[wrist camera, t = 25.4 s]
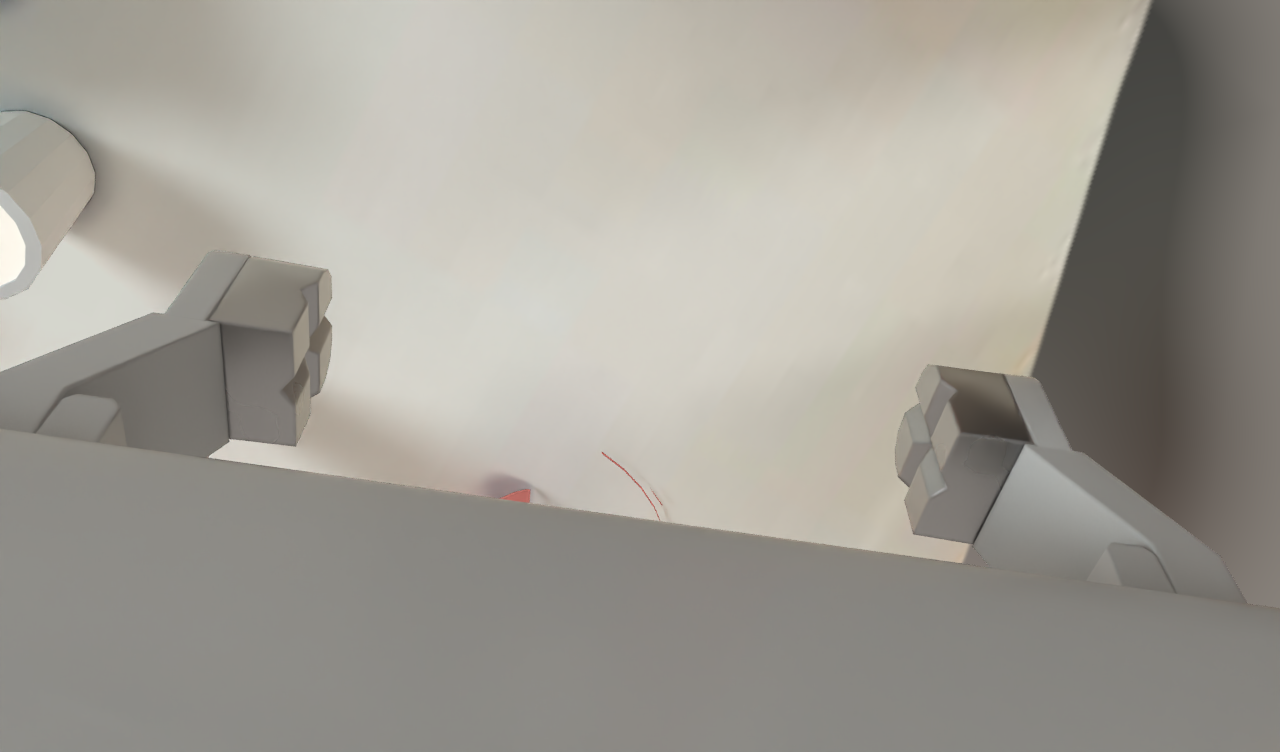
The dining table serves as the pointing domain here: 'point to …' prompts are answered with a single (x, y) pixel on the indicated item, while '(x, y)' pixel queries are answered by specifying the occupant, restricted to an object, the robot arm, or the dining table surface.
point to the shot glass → (37, 194)
